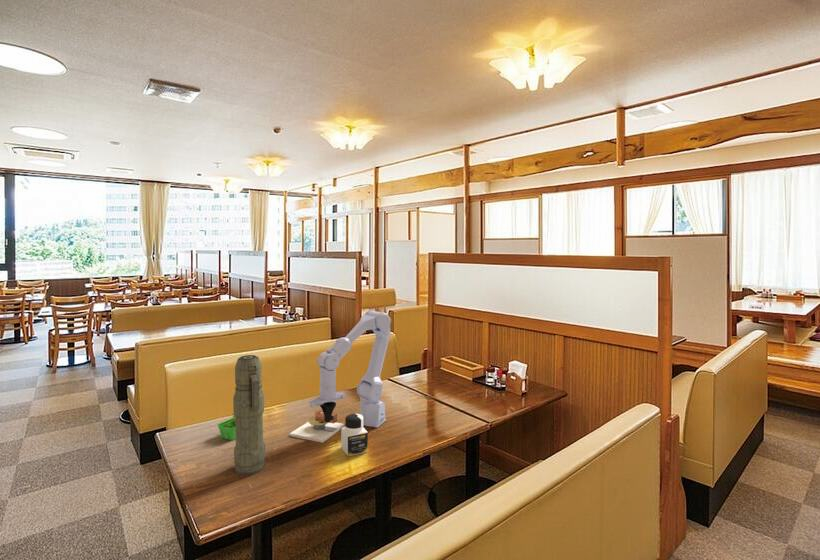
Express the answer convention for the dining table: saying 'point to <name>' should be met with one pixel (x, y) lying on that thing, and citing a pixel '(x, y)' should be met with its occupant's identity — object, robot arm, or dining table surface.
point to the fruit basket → (228, 429)
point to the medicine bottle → (354, 435)
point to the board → (316, 431)
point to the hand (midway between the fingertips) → (327, 421)
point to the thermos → (248, 416)
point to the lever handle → (321, 418)
